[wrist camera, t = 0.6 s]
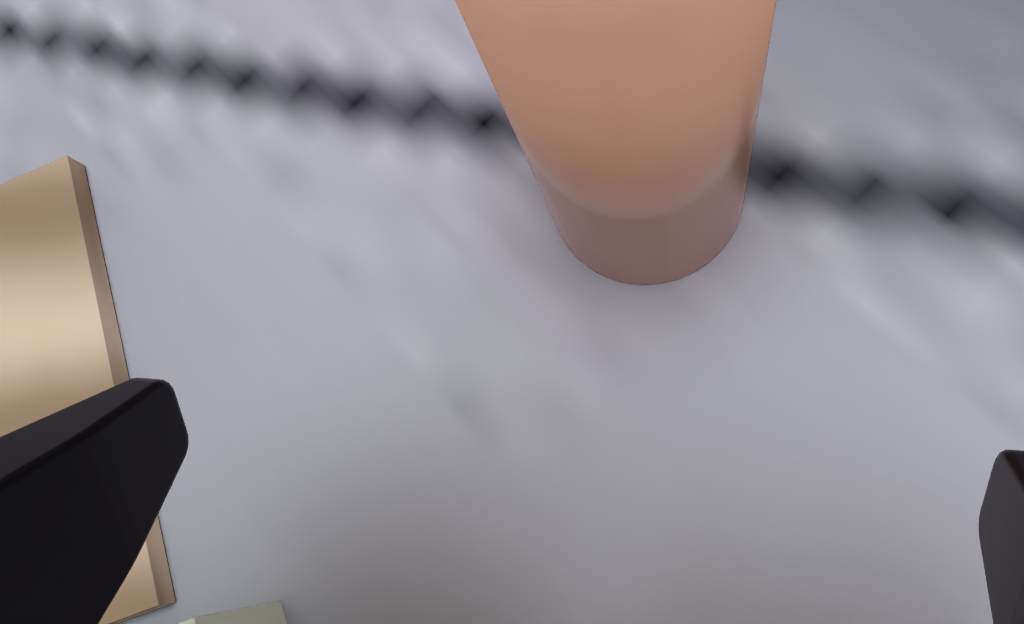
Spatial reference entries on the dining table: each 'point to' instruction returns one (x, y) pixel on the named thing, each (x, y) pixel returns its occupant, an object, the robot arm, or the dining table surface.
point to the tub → (244, 616)
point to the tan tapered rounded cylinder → (632, 120)
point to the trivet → (64, 331)
